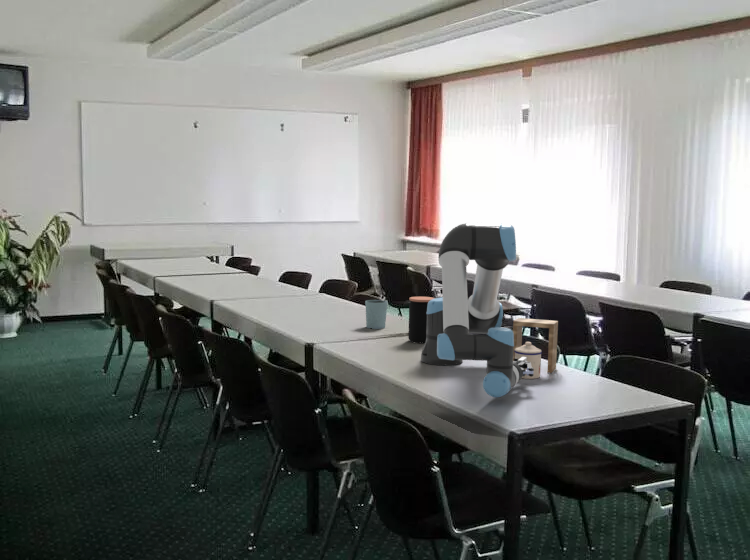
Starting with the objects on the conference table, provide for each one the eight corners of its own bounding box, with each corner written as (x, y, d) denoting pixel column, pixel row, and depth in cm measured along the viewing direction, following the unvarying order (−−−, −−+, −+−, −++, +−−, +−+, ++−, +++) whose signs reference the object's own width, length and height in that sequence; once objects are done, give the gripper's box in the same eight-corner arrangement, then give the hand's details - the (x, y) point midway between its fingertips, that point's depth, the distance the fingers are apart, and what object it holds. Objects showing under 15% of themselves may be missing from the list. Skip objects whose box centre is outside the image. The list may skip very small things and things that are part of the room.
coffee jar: (438, 340, 329) (439, 297, 328) (426, 344, 320) (427, 300, 319) (416, 338, 335) (417, 295, 333) (403, 341, 326) (404, 298, 324)
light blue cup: (362, 328, 356) (363, 302, 355) (366, 325, 366) (367, 299, 365) (385, 329, 355) (385, 303, 353) (388, 326, 365) (389, 300, 363)
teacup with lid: (545, 378, 264) (546, 344, 263) (520, 379, 262) (521, 345, 260) (530, 371, 275) (531, 337, 274) (505, 371, 273) (506, 338, 272)
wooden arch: (511, 369, 278) (513, 320, 276) (516, 364, 285) (518, 317, 284) (551, 373, 273) (553, 324, 271) (556, 368, 280) (558, 320, 278)
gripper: (485, 384, 243) (504, 369, 264) (528, 389, 238) (543, 373, 259) (486, 360, 242) (505, 347, 264) (529, 365, 237) (544, 351, 259)
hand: (524, 360), depth 261 cm, fingers closed
